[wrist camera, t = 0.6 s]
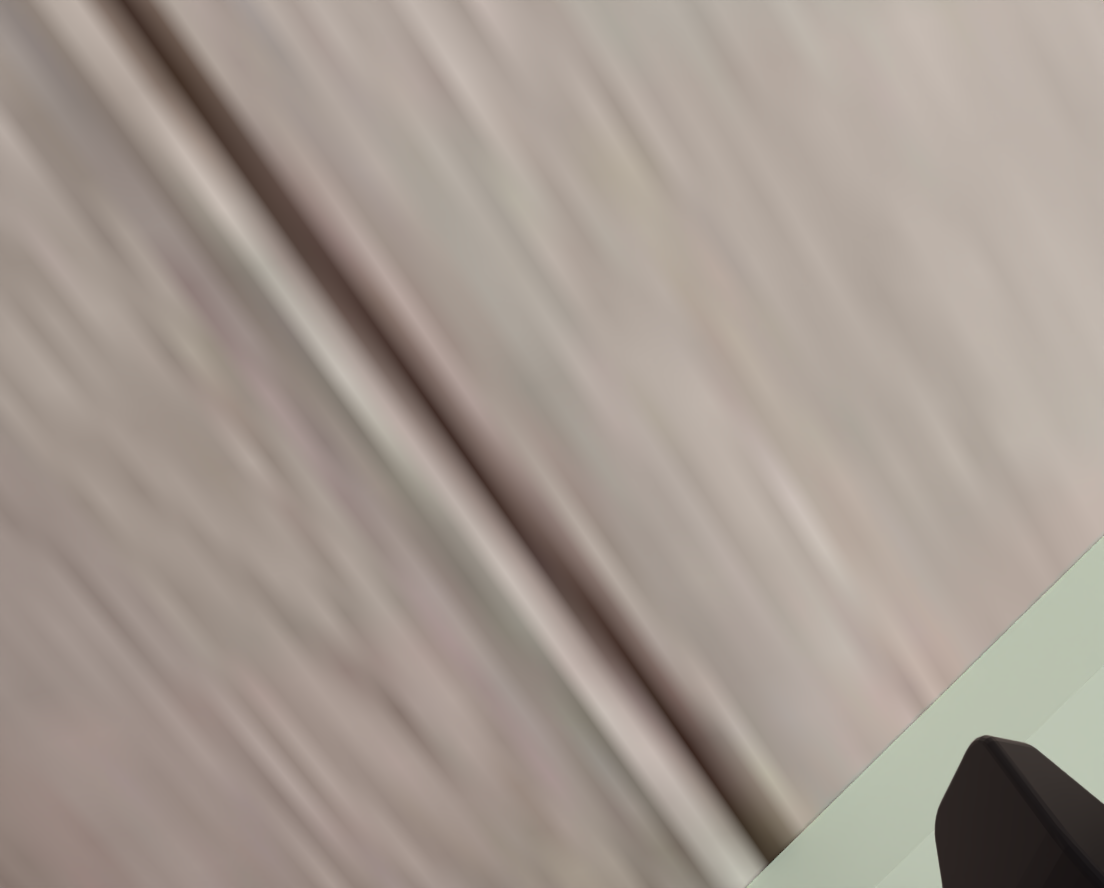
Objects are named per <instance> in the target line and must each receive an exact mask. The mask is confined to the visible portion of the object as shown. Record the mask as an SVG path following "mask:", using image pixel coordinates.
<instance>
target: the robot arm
mask: <svg viewBox="0 0 1104 888" xmlns="http://www.w3.org/2000/svg"><path fill="white" fill-rule="evenodd" d="M935 842H936V849H937V856H938V862H939V869H940V875H941V882H942V888H1104V804H1103V803H1102V802H1101V801H1100V800H1098V799H1097V798H1096V797H1095V796H1094V795H1092V794H1091V793H1090V792H1089V791H1087V790H1086V789H1085V788H1084V787H1083V786H1081V785H1080V784H1079V783H1078V782H1077V781H1075V780H1074V779H1073V778H1072V777H1070V776H1069V775H1068V774H1067V773H1066V772H1064V771H1063V770H1062V769H1061V768H1060V767H1058V766H1057V765H1056V764H1055V763H1053V762H1052V761H1051V760H1050V759H1049V758H1047V757H1046V756H1045V755H1044V754H1042V753H1041V752H1040V751H1039V750H1038V749H1036V748H1035V747H1033V746H1032V745H1030V744H1027V743H1024V742H1019V741H1014V740H1010V739H1005V738H1000V737H995V736H990V735H983V736H980V737H978V738H976V739H975V740H974V741H973V742H971V744H970V745H969V747H968V748H967V750H966V752H965V754H964V756H963V758H962V760H961V762H960V764H959V766H958V768H957V770H956V772H955V774H954V776H953V778H952V780H951V782H950V784H949V786H948V788H947V790H946V792H945V794H944V796H943V798H942V800H941V802H940V805H939V807H938V810H937V814H936V819H935Z"/></svg>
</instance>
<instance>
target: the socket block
mask: <svg viewBox="0 0 1104 888" xmlns="http://www.w3.org/2000/svg"><path fill="white" fill-rule="evenodd" d="M983 735H990V736H995V737H1000V738H1005V739H1010V740H1014V741H1019V742H1024V743H1027V744H1030V745H1032V746H1033V747H1035V748H1036V749H1038V750H1039V751H1040V752H1041V753H1042V754H1044V755H1045V756H1046V757H1047V758H1049V759H1050V760H1051V761H1052V762H1053V763H1055V764H1056V765H1057V766H1058V767H1060V768H1061V769H1062V770H1063V771H1064V772H1066V773H1067V774H1068V775H1069V776H1070V777H1072V778H1073V779H1074V780H1075V781H1077V782H1078V783H1079V784H1080V785H1081V786H1083V787H1084V788H1085V789H1086V790H1087V791H1089V792H1090V793H1091V794H1092V795H1094V796H1095V797H1096V798H1097V799H1098V800H1100V801H1101V802H1102V803H1103V804H1104V536H1103V537H1102V538H1101V539H1100V540H1099V541H1098V542H1097V543H1096V544H1095V545H1094V546H1093V547H1092V548H1091V549H1090V550H1089V551H1088V552H1087V553H1085V554H1084V555H1083V556H1082V557H1081V558H1080V559H1079V560H1078V561H1077V562H1076V563H1075V564H1074V565H1073V566H1072V567H1071V568H1070V569H1069V570H1068V571H1067V572H1066V573H1065V574H1064V575H1063V576H1062V577H1061V578H1060V579H1059V580H1058V581H1057V582H1056V583H1055V584H1054V585H1053V586H1052V587H1051V588H1050V589H1049V590H1048V591H1047V592H1046V593H1045V594H1044V595H1043V596H1042V597H1041V598H1040V599H1039V600H1038V601H1037V602H1036V603H1035V604H1034V605H1033V606H1032V607H1031V608H1030V609H1029V610H1028V611H1027V612H1026V613H1024V614H1023V615H1022V616H1021V617H1020V618H1019V619H1018V620H1017V621H1016V622H1015V623H1014V624H1013V625H1012V626H1011V627H1010V628H1009V629H1008V630H1007V631H1006V632H1005V633H1004V634H1003V635H1002V636H1001V637H1000V638H999V639H998V640H997V641H996V642H995V643H994V644H993V645H992V646H991V647H990V648H989V649H988V650H987V651H986V652H985V653H984V654H983V655H982V656H981V657H980V658H979V659H978V660H977V661H976V662H975V663H974V664H973V665H972V666H971V667H970V668H969V669H968V670H967V671H966V672H965V673H963V674H962V675H961V676H960V677H959V678H958V679H957V680H956V681H955V682H954V683H953V684H952V685H951V686H950V687H949V688H948V689H947V690H946V691H945V692H944V693H943V694H942V695H941V696H940V697H939V698H938V699H937V700H936V701H935V702H934V703H933V704H932V705H931V706H930V707H929V708H928V709H927V710H926V711H925V712H924V713H923V714H922V715H921V716H920V717H919V718H918V719H917V720H916V721H915V722H914V723H913V724H912V725H911V726H910V727H909V728H908V729H907V730H906V731H905V732H904V733H902V734H901V735H900V736H899V737H898V738H897V739H896V740H895V741H894V742H893V743H892V744H891V745H890V746H889V747H888V748H887V749H886V750H885V751H884V752H883V753H882V754H881V755H880V756H879V757H878V758H877V759H876V760H875V761H874V762H873V763H872V764H871V765H870V766H869V767H868V768H867V769H866V770H865V771H864V772H863V773H862V774H861V775H860V776H859V777H858V778H857V779H856V780H855V781H854V782H853V783H852V784H851V785H850V786H849V787H848V788H847V789H846V790H845V791H844V792H843V793H841V794H840V795H839V796H838V797H837V798H836V799H835V800H834V801H833V802H832V803H831V804H830V805H829V806H828V807H827V808H826V809H825V810H824V811H823V812H822V813H821V814H820V815H819V816H818V817H817V818H816V819H815V820H814V821H813V822H812V823H811V824H810V825H809V826H808V827H807V828H806V829H805V830H804V831H803V832H802V833H801V834H800V835H799V836H798V837H797V838H796V839H795V840H794V841H793V842H792V843H791V844H790V845H789V846H788V847H787V848H786V849H785V850H784V851H783V852H782V853H780V854H779V855H778V856H777V857H776V858H775V859H774V860H773V861H772V862H771V863H770V864H769V865H768V866H767V867H766V868H765V869H764V870H763V871H762V872H761V873H760V874H759V875H758V876H757V877H756V878H755V879H754V880H753V881H752V882H751V883H750V884H749V885H748V886H747V887H746V888H942V882H941V875H940V869H939V862H938V856H937V849H936V842H935V819H936V814H937V810H938V807H939V805H940V802H941V800H942V798H943V796H944V794H945V792H946V790H947V788H948V786H949V784H950V782H951V780H952V778H953V776H954V774H955V772H956V770H957V768H958V766H959V764H960V762H961V760H962V758H963V756H964V754H965V752H966V750H967V748H968V747H969V745H970V744H971V742H973V741H974V740H975V739H976V738H978V737H980V736H983Z"/></svg>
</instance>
